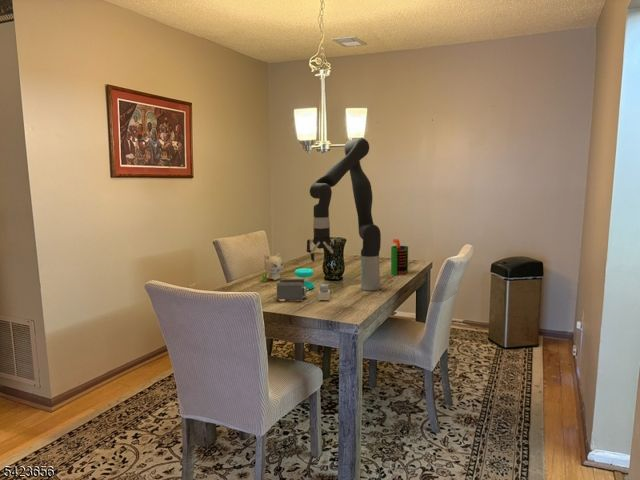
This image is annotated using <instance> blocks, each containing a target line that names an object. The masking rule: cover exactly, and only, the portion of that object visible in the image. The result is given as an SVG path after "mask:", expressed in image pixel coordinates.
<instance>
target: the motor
mask: <svg viewBox="0 0 640 480" xmlns="http://www.w3.org/2000/svg"><path fill="white" fill-rule="evenodd" d="M392 243H393V244H395V245H393V246H391V247H390V274H391V275H392V276H405V275H407V274H408V273H409V246H407V245H401V243H400V240H399V238H394V239H393V240H392Z"/></svg>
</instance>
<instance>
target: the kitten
mask: <svg viewBox="0 0 640 480" xmlns="http://www.w3.org/2000/svg"><path fill="white" fill-rule="evenodd" d="M263 258H264V269H265V273H263V274H262V277H261V278H262V281H263V280H266V281H267V279H269V278H270V279H278V278H281V272H283V270H284V267H285V266H284V261H283V260H282V257H281V253H280V252H278V253H277V254H276V255H273V256H270V255H268V254H264V256H263ZM267 273H268V278H267ZM270 279H269V280H270Z"/></svg>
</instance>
